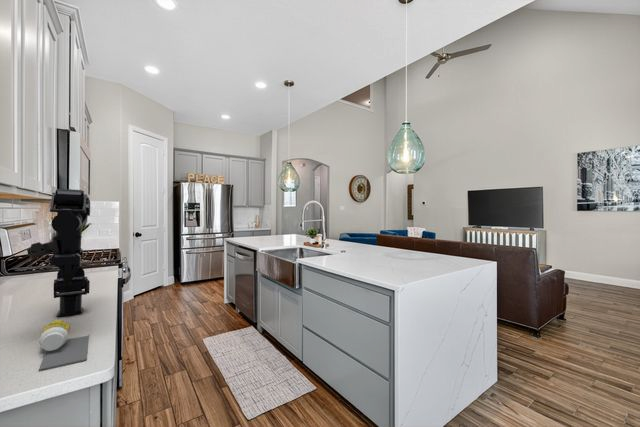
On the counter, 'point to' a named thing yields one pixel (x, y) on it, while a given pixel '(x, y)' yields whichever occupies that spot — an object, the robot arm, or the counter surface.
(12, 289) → the counter surface
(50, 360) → the mat
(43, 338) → the supplement bottle
